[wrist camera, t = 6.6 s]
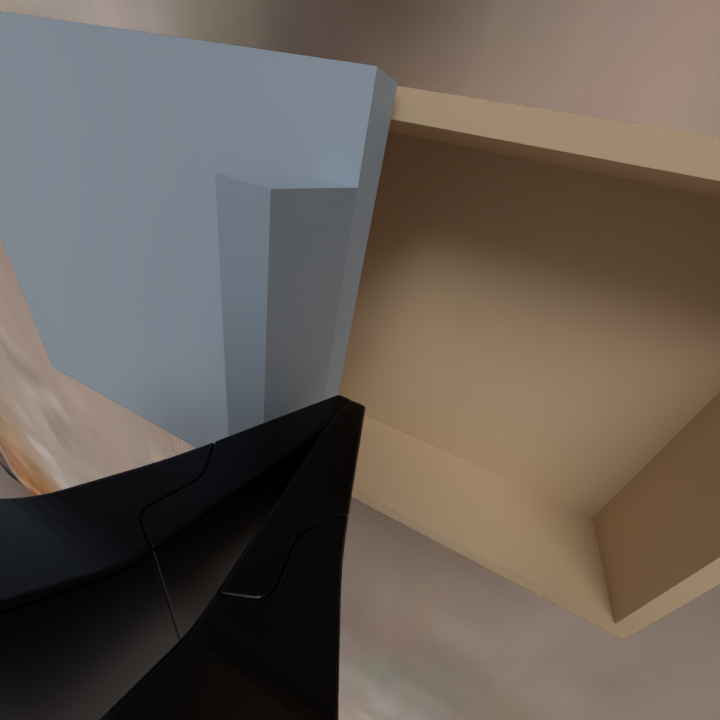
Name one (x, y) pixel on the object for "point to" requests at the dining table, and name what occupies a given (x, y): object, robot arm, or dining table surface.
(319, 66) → the lid
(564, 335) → the tan shallow open box
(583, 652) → the dining table surface
